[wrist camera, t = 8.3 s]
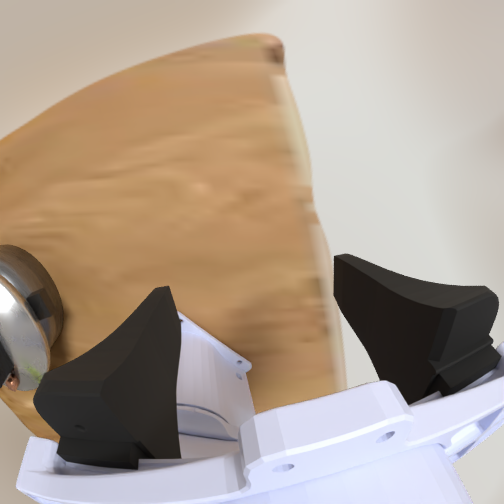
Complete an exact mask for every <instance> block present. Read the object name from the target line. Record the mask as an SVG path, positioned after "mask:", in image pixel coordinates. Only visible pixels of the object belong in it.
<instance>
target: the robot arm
mask: <svg viewBox="0 0 504 504" xmlns="http://www.w3.org/2000/svg"><path fill="white" fill-rule="evenodd" d="M334 297H335V299H336V301H337V304H338V306H339V308H340V310H341V312H342V313H343V315H344V317H345V318H346V320H347V321H348V323H349V324H350V326H351V327H352V329H353V330H354V332H355V333H356V335H357V337H358V338H359V340H360V341H361V343H362V344H363V346H364V347H365V349H366V351H367V353H368V355H369V357H370V359H371V361H372V363H373V365H374V367H375V370H376V372H377V374H378V377H379V379H380V381H376V382H370V383H365V384H362V385H359V386H356V387H353V388H350V389H346V390H343V391H340V392H336V393H333V394H329V395H326V396H322V397H318V398H315V399H311V400H307V401H303V402H298V403H294V404H290V405H285V406H281V407H276V408H273V409H270V410H267V411H264V412H261V413H258V414H255V409H254V405H253V401H252V397H251V393H250V389H249V385H248V380H247V376H246V372H247V371H249V370H250V369H251V368H252V365H251V363H250V362H249V361H248V360H246V359H245V358H243V357H242V356H240V355H239V354H237V353H236V352H234V351H233V350H231V349H230V348H229V347H227V346H226V345H224V344H223V343H221V342H220V341H218V340H217V339H216V338H214V337H213V336H211V335H210V334H209V333H207V332H206V331H204V330H203V329H202V328H200V327H199V326H198V325H196V324H195V323H193V322H192V321H191V320H189V319H188V318H187V317H185V316H184V315H183V314H181V313H180V312H178V311H177V309H176V306H175V303H174V300H173V297H172V294H171V291H170V287H169V286H164V287H158V288H155V289H154V290H153V291H152V292H151V293H150V294H149V295H148V296H147V298H146V299H145V300H144V301H143V302H142V303H141V304H140V305H139V306H138V308H137V309H136V310H135V311H134V312H133V313H132V314H131V315H130V316H129V317H128V318H127V319H126V320H125V321H124V322H123V323H122V324H121V325H120V326H119V327H118V328H117V329H116V330H115V331H114V332H113V333H112V334H110V335H109V336H108V337H107V338H106V339H104V340H103V341H102V342H100V343H99V344H97V345H96V346H95V347H93V348H92V349H90V350H89V351H88V352H86V353H84V354H83V355H81V356H79V357H78V358H76V359H74V360H72V361H70V362H69V363H67V364H65V365H62V366H60V367H58V368H56V369H53V370H51V371H49V372H46V373H44V375H43V377H42V379H41V381H40V384H39V386H38V388H37V390H36V393H35V395H34V398H33V403H34V406H35V408H36V410H37V412H38V413H39V414H40V415H41V417H42V418H43V419H44V420H45V421H46V422H47V423H48V424H49V425H50V426H51V427H52V428H53V429H54V430H55V431H56V432H57V433H58V434H59V435H60V436H61V438H60V441H59V444H58V443H57V442H55V441H53V440H50V439H45V438H40V437H34V436H30V438H29V441H28V444H27V447H26V451H25V454H24V457H23V461H22V464H21V468H20V471H19V475H18V479H17V484H16V488H17V489H18V490H19V491H21V492H22V493H24V494H25V495H27V496H29V497H30V498H32V499H33V500H35V501H37V502H38V503H40V504H473V502H472V500H471V498H470V496H469V494H468V492H467V490H466V489H465V486H464V485H463V483H462V481H461V479H460V477H459V475H458V474H457V472H456V470H455V468H454V466H453V465H452V464H453V463H454V462H456V461H457V460H459V459H460V458H461V457H463V456H464V455H466V454H467V453H468V452H470V451H471V450H472V449H474V448H475V447H476V446H478V445H479V444H480V443H481V442H482V441H484V440H485V439H486V438H488V437H489V436H490V435H491V434H492V433H494V432H495V431H496V430H497V429H498V428H499V427H501V426H502V425H503V424H504V342H502V343H501V344H500V345H499V346H498V347H497V348H496V350H495V349H494V347H493V346H492V345H491V344H492V343H493V339H492V338H491V337H490V336H489V333H490V331H491V328H492V326H493V323H494V321H495V318H496V315H497V312H498V307H499V301H498V297H497V295H496V294H495V293H494V292H492V291H491V290H490V289H489V288H487V287H486V286H457V285H446V284H439V283H433V282H428V281H423V280H419V279H415V278H411V277H408V276H404V275H401V274H398V273H395V272H393V271H390V270H387V269H385V268H382V267H380V266H377V265H375V264H373V263H370V262H368V261H365V260H363V259H361V258H358V257H355V256H353V255H350V254H342V255H336V256H334ZM180 319H182V320H183V321H182V322H181V321H180ZM239 360H240V362H237V361H239Z"/></svg>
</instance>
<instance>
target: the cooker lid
mask: <svg viewBox="0 0 504 504" xmlns="http://www.w3.org/2000/svg"><path fill="white" fill-rule="evenodd" d="M50 360H51V357H50V349H49V345H48V341H47V338H46V335H45V333H44V330H43V328H42V326H41V324H40V322H39V320H38V318H37V316H36V315H35V313H34V311H33V310H32V308H31V307H30V305H29V304H28V303H27V301H26V300H25V299H24V297H23V296H22V295H21V294H20V292H19V291H18V290H17V289H16V288H15V287H14V286H13V285H12V284H11V283H10V282H9V281H8V280H7V279H6V278H4V277H3V276H2V275H1V274H0V388H1V387H2V385H5V386H7V387H8V388H9V389H10V390H12V391H16V390H21V391H29V390H33V389H36V388H37V387H38V386H39V384H40V381H41V379H42V377H43V375H44V373H46V372H48V371H49V368H50Z"/></svg>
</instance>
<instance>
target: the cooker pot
mask: <svg viewBox="0 0 504 504" xmlns="http://www.w3.org/2000/svg"><path fill="white" fill-rule="evenodd" d="M0 274H1V275H2V276H3V277H4V278H6V279H7V280H8V281H9V282H10V283H11V284H12V285H13V286H14V287H15V288H16V289H17V290H18V291H19V292H20V294H21V295H22V296H23V297H24V299H25V300H26V301H27V303H28V304H29V305H30V307H31V308H32V310H33V311H34V313H35V315H36V316H37V318H38V320H39V322H40V324H41V326H42V328H43V330H44V333H45V335H46V338H47V341H48V345H49V349H51V347H52V346H53V344H54V342H55V341H56V339H57V337H58V336H59V334H60V332H61V329H62V326H63V307H62V302H61V298H60V296H59V293H58V290H57V288H56V286H55V284H54V282H53V280H52V278H51V277H50V275H49V274H48V272H47V271H46V269H45V268H44V267H43V266H42V265H41V263H40V262H39V261H38V260H37V259H36V258H34V257H33V256H32V255H31V254H29V253H28V252H26V251H25V250H23V249H21V248H19V247H16V246H13V245H0Z"/></svg>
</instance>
